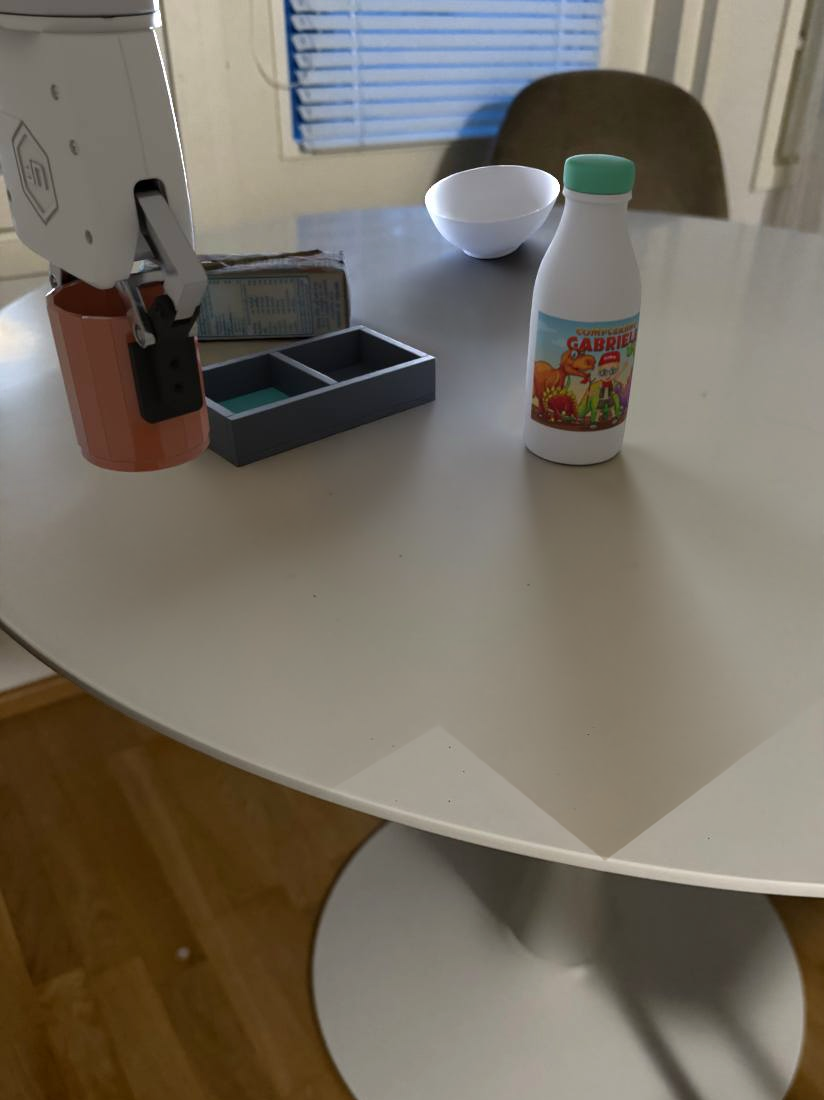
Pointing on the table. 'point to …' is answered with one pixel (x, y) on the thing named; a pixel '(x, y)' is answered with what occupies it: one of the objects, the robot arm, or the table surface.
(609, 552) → the table surface
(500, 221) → the bowl
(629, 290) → the milk bottle
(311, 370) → the tray
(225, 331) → the beverage carton
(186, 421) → the cup
